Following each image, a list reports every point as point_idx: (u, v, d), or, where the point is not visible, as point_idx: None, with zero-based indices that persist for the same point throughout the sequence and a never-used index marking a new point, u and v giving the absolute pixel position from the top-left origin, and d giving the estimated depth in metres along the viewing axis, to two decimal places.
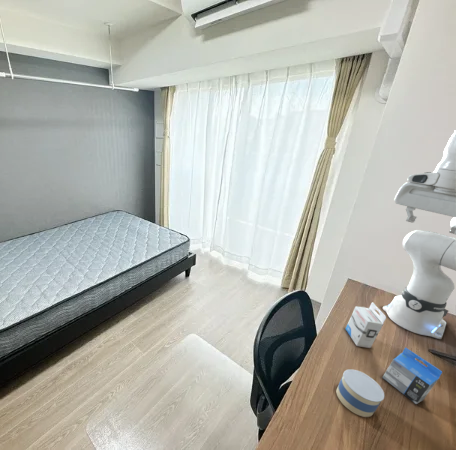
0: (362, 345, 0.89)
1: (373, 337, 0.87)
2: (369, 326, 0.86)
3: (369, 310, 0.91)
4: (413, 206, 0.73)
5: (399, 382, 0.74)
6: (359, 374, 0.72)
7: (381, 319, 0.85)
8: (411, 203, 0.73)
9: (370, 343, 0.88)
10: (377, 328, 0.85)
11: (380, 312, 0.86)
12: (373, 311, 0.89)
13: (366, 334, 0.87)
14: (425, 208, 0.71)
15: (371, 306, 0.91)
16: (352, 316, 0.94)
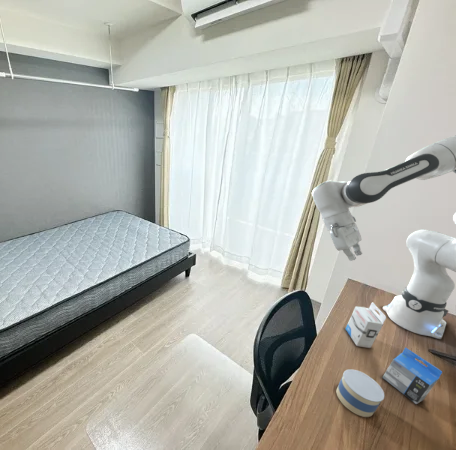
0: (362, 345, 0.89)
1: (373, 337, 0.87)
2: (369, 326, 0.86)
3: (369, 310, 0.91)
4: None
5: (399, 382, 0.74)
6: (359, 374, 0.72)
7: (381, 319, 0.85)
8: None
9: (370, 343, 0.88)
10: (377, 328, 0.85)
11: (380, 312, 0.86)
12: (373, 311, 0.89)
13: (366, 334, 0.87)
14: None
15: (371, 306, 0.91)
16: (352, 316, 0.94)
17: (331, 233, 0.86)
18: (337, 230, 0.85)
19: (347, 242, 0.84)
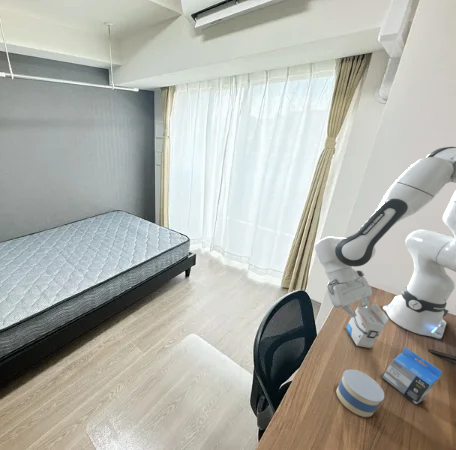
0: (362, 345, 0.89)
1: (374, 338, 0.87)
2: (370, 327, 0.85)
3: (371, 311, 0.90)
4: None
5: (399, 382, 0.74)
6: (359, 374, 0.72)
7: (383, 320, 0.85)
8: None
9: (370, 343, 0.88)
10: (379, 329, 0.85)
11: (383, 313, 0.85)
12: (375, 312, 0.89)
13: (367, 335, 0.87)
14: None
15: (373, 307, 0.90)
16: None
17: (328, 290, 0.92)
18: (333, 288, 0.90)
19: (343, 300, 0.88)
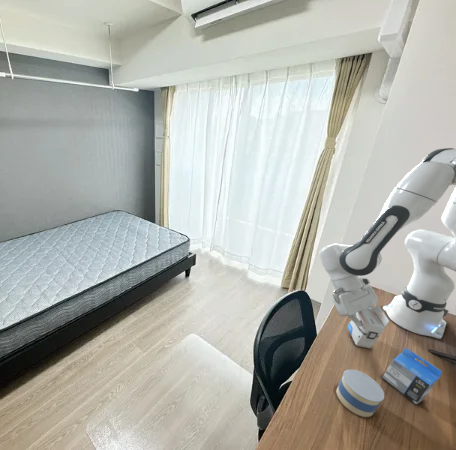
0: (362, 345, 0.89)
1: (374, 339, 0.86)
2: (370, 328, 0.85)
3: (373, 311, 0.89)
4: None
5: (399, 382, 0.74)
6: (359, 374, 0.72)
7: (384, 322, 0.84)
8: None
9: (370, 344, 0.88)
10: (378, 331, 0.84)
11: (384, 315, 0.84)
12: (377, 313, 0.88)
13: (367, 336, 0.87)
14: None
15: (376, 308, 0.89)
16: None
17: (333, 298, 0.90)
18: (339, 296, 0.89)
19: (349, 309, 0.87)
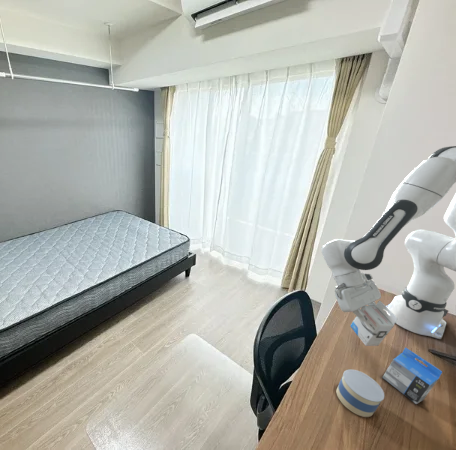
0: (371, 344, 0.87)
1: (383, 337, 0.85)
2: (380, 329, 0.83)
3: (376, 309, 0.87)
4: None
5: (399, 382, 0.74)
6: (359, 374, 0.72)
7: (391, 320, 0.82)
8: None
9: (379, 342, 0.86)
10: (388, 329, 0.83)
11: (390, 312, 0.83)
12: (381, 310, 0.86)
13: (376, 335, 0.85)
14: None
15: (378, 304, 0.87)
16: None
17: None
18: (341, 292, 0.88)
19: (352, 305, 0.86)
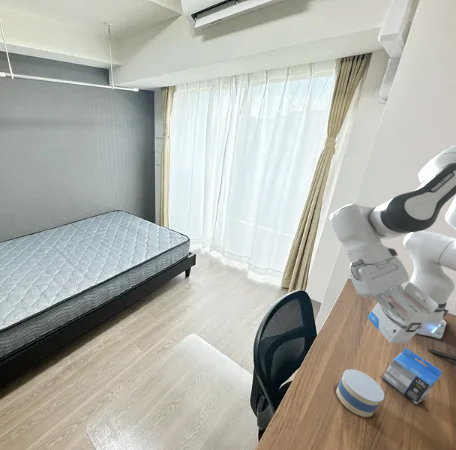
0: (397, 341, 0.65)
1: (415, 331, 0.62)
2: (413, 319, 0.60)
3: (405, 293, 0.65)
4: None
5: (399, 382, 0.74)
6: (359, 374, 0.72)
7: (429, 307, 0.60)
8: None
9: (408, 338, 0.64)
10: (423, 320, 0.60)
11: (426, 297, 0.60)
12: (412, 294, 0.64)
13: (406, 329, 0.62)
14: None
15: (408, 287, 0.65)
16: None
17: (351, 274, 0.67)
18: (358, 270, 0.65)
19: (373, 287, 0.63)
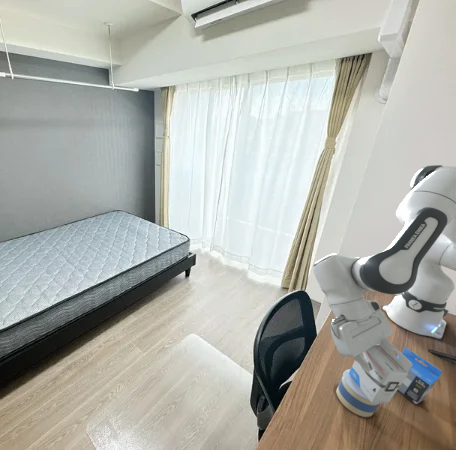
0: (379, 401, 0.64)
1: (394, 391, 0.62)
2: (390, 378, 0.60)
3: (381, 349, 0.66)
4: None
5: None
6: None
7: (404, 365, 0.60)
8: None
9: (389, 398, 0.63)
10: (400, 379, 0.60)
11: (401, 355, 0.61)
12: (387, 351, 0.65)
13: (385, 388, 0.62)
14: None
15: (383, 343, 0.66)
16: None
17: None
18: (339, 328, 0.64)
19: (353, 348, 0.62)
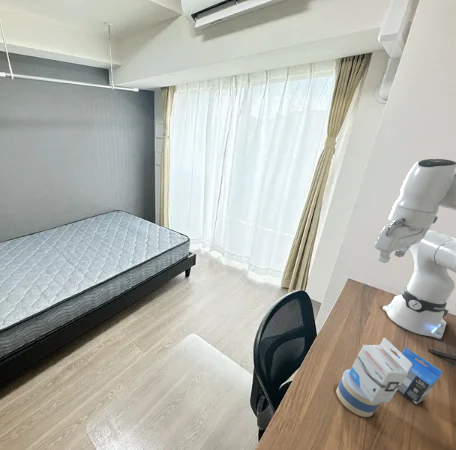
0: (379, 401, 0.64)
1: (394, 391, 0.62)
2: (390, 378, 0.60)
3: (381, 349, 0.66)
4: None
5: None
6: None
7: (404, 365, 0.60)
8: None
9: (389, 398, 0.63)
10: (400, 379, 0.60)
11: (401, 355, 0.61)
12: (387, 351, 0.65)
13: (385, 388, 0.62)
14: None
15: (383, 343, 0.66)
16: (359, 358, 0.68)
17: (385, 228, 0.68)
18: (395, 229, 0.67)
19: (393, 246, 0.68)
